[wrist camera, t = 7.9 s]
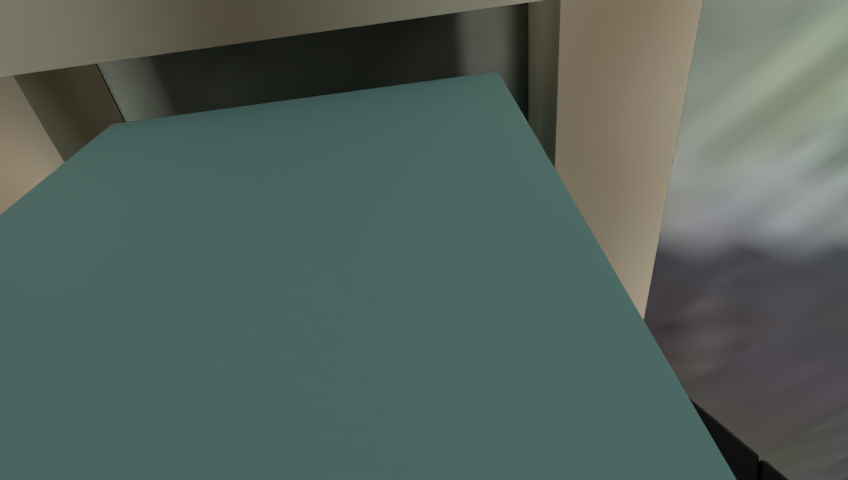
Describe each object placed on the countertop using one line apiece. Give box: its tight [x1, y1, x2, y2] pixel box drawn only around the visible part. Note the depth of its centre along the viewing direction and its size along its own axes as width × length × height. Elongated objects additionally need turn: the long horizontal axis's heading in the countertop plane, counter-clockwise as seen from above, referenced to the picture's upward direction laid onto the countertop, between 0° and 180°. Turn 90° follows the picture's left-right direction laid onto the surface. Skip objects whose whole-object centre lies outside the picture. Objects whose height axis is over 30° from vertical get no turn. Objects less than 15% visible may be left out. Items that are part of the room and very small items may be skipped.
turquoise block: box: [0, 72, 736, 480], centre depth 6 cm, size 6×6×7 cm
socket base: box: [0, 0, 703, 320], centre depth 10 cm, size 13×13×2 cm
